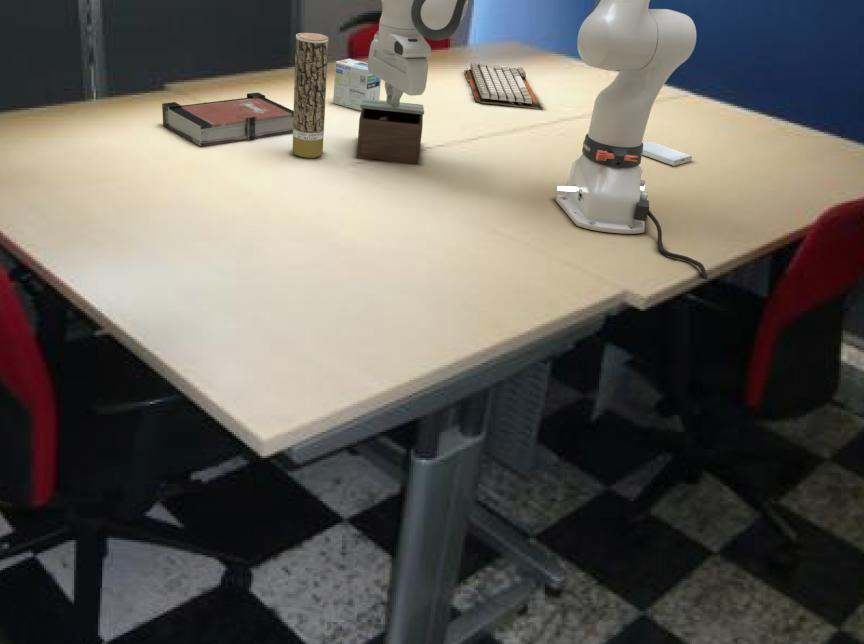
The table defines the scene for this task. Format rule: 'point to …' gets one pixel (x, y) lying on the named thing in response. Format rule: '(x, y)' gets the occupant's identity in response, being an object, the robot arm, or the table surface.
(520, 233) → the table surface
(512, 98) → the mechanical keyboard
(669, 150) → the hard drive
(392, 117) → the case
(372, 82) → the light bulb box
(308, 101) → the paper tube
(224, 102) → the book
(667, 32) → the robot arm
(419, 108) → the pale blue slab
